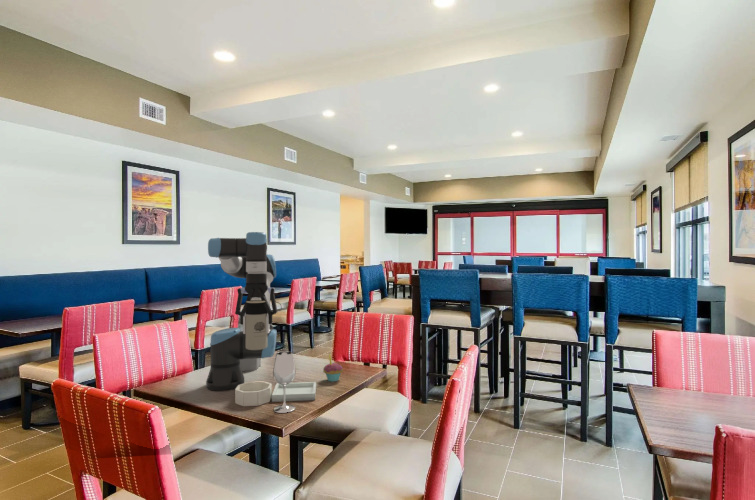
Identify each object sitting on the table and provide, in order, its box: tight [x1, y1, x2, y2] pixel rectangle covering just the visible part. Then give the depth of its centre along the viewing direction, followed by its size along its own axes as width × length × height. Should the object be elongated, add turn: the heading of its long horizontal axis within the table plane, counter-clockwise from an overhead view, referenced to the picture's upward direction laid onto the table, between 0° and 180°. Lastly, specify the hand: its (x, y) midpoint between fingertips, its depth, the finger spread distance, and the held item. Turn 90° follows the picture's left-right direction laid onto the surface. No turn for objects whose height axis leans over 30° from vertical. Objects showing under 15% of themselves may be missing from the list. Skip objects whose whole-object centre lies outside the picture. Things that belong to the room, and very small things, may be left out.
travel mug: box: [245, 300, 267, 350], centre depth 157 cm, size 8×8×18 cm
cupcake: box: [323, 353, 344, 382], centre depth 181 cm, size 9×8×12 cm
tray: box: [271, 381, 317, 403], centre depth 163 cm, size 16×14×2 cm
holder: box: [234, 380, 273, 407], centre depth 157 cm, size 13×13×5 cm
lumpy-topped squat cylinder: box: [240, 358, 262, 372], centre depth 200 cm, size 10×13×9 cm
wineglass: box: [272, 350, 297, 414], centre depth 148 cm, size 8×8×20 cm
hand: (256, 332), depth 157 cm, fingers closed on travel mug, 8 cm apart
